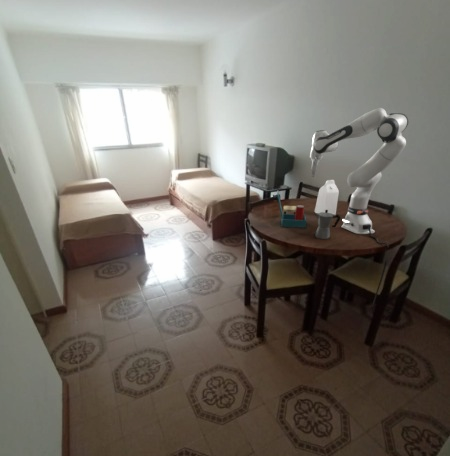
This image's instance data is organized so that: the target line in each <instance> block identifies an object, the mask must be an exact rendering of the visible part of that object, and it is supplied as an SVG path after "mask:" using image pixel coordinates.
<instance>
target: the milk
mask: <svg viewBox="0 0 450 456" xmlns="http://www.w3.org/2000/svg"><path fill="white" fill-rule="evenodd" d="M339 193H340V191H339V188H338V186H337V185H336V182H335V179H327V180H326V181H325V183H324V185H322V186H321V187H320V188H319V190H318V193H317V198H316V202H315V207H314V214H316V213H321V212H325V210H328V212H327V213H332V214H336V215H337V209H338V203H339V202H338V201H339Z"/></svg>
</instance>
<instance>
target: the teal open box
mask: <svg viewBox="0 0 450 456" xmlns="http://www.w3.org/2000/svg"><path fill="white" fill-rule="evenodd" d="M306 217H307V216H306V214H304V215H303V220H295V214H294V213H293V214H292V213H286V214H284V213H283V219H282V218H281V227H286V228H287V227H288V228H306V227H307V218H306Z"/></svg>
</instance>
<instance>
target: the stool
mask: <svg viewBox="0 0 450 456" xmlns="http://www.w3.org/2000/svg"><path fill="white" fill-rule="evenodd" d="M296 206H297V205H283V214H287V213H293V214H296Z"/></svg>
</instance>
